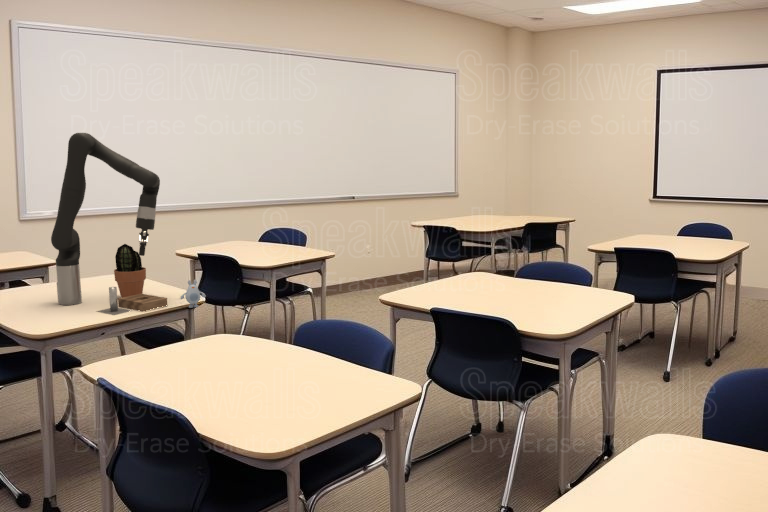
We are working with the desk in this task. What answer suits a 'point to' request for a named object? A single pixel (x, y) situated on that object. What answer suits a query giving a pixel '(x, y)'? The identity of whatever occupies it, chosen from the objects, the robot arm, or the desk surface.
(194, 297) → the toy figure
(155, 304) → the hole block
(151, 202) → the robot arm
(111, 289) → the metal peg
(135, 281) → the potted plant
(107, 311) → the rubber mat
